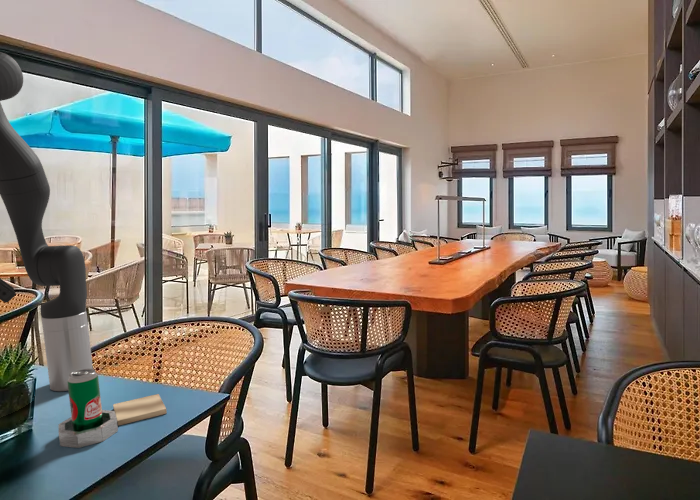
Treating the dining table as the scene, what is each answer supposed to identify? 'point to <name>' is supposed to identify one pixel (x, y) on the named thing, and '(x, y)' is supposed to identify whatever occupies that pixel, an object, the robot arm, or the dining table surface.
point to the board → (139, 409)
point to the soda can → (85, 400)
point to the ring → (87, 432)
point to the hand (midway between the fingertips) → (11, 296)
